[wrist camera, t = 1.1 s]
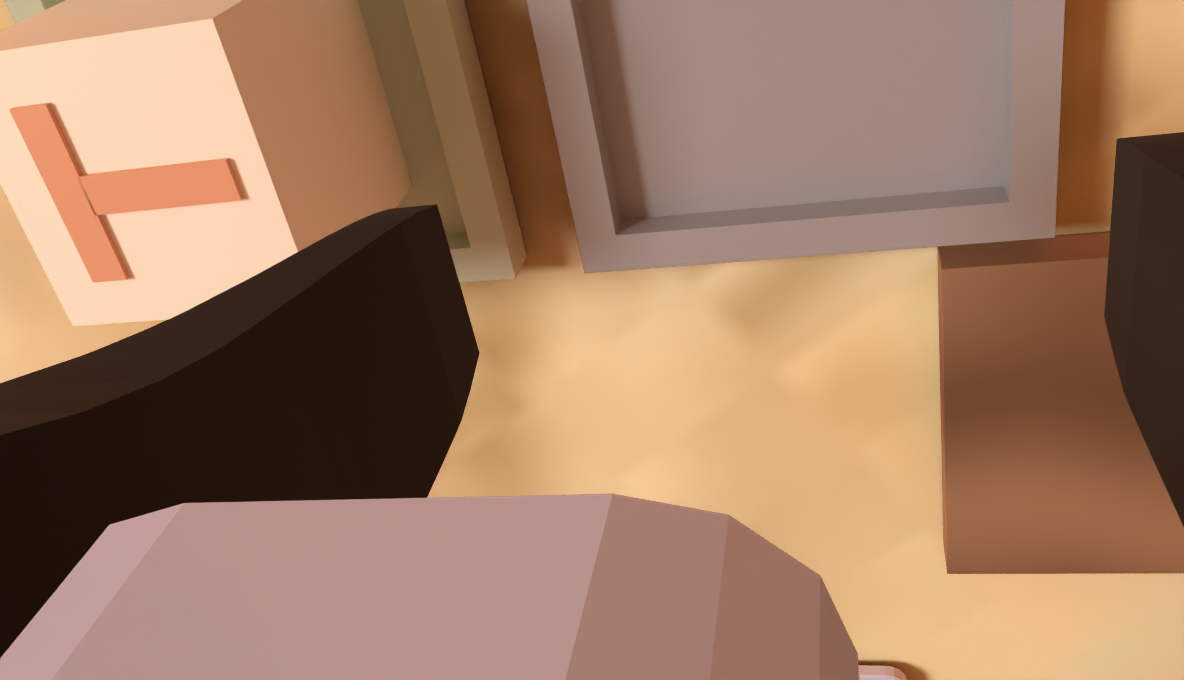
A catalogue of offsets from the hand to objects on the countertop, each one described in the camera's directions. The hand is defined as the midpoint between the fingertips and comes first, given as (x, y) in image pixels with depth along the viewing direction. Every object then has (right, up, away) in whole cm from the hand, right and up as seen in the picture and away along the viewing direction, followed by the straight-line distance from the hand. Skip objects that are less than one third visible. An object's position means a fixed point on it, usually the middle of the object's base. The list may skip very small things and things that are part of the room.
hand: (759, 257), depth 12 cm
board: (+10, -2, +11) cm, 15 cm away
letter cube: (-8, +4, +10) cm, 14 cm away
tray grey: (+2, +5, +8) cm, 9 cm away
